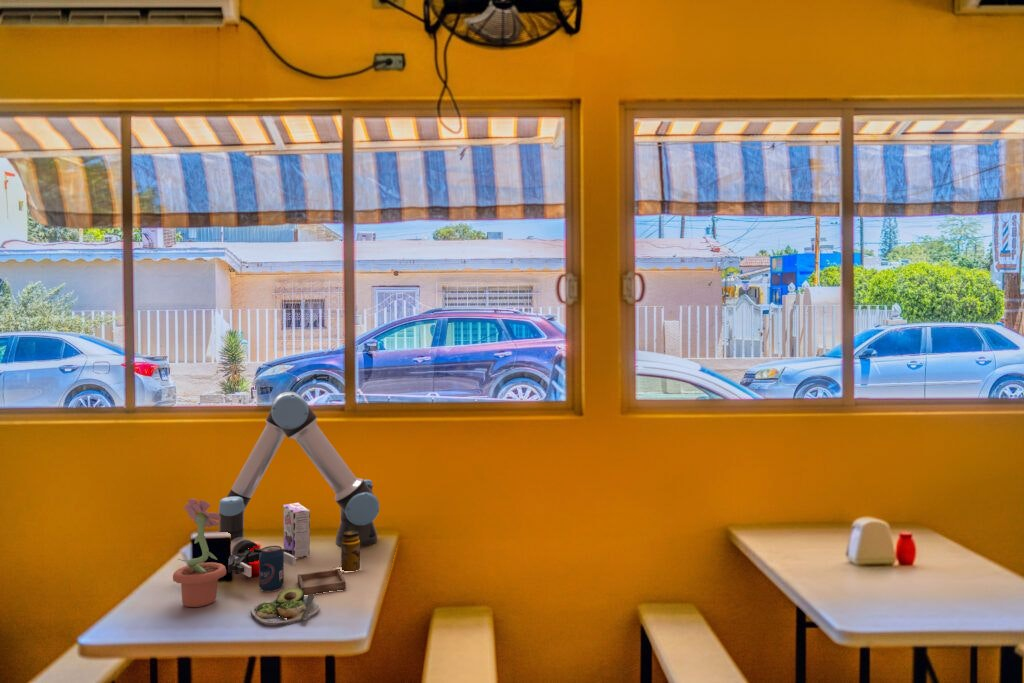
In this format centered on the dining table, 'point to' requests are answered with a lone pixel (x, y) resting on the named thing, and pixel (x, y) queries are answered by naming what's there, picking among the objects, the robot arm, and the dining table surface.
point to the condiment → (350, 551)
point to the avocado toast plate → (286, 608)
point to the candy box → (297, 529)
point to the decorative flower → (200, 562)
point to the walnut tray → (321, 581)
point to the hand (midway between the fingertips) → (272, 566)
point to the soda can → (271, 568)
